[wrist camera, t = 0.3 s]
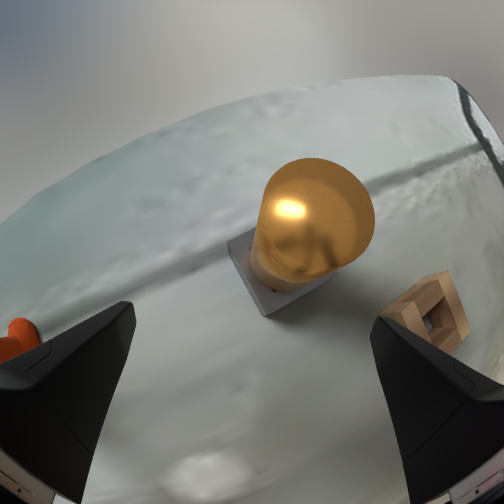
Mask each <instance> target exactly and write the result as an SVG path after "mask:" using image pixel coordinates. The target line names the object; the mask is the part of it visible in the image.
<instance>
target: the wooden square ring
mask: <svg viewBox="0 0 504 504" xmlns="http://www.w3.org/2000/svg"><path fill="white" fill-rule="evenodd" d="M426 313H427V315H428V318H429V320H430V322H431V325H432V327H433V328H432V329H431V330H430V331H429V332H427V330H426V327H425V325H424V322H423V320H422V317H423V316H424V315H425V314H426ZM378 315H379V316H387V317H389V318H391V319H393V320H394V321H396V322H397V323H399V324H401V325H402V326H404V327H406V328H407V329H409V330H410V331H412V332H414V333H415V334H417V335H418V336H420V337H422V338H423V339H425V340H427V341H428V342H430V343H431V344H433V345H434V346H436V347H438V348H439V349H441V350H442V351H444V352H446V353H447V354H449V355H450V354H451V353H452V352H453V351H454V350H455V349H456V348H457V347H458V346H459V344H460V343H461V342H462V341H463V340H464V339H465V337H466V336H467V335H468V334H469V333H470V331H471V329H470V326H469V323H468V320H467V317H466V315H465V312H464V309H463V306H462V304H461V301H460V299H459V296H458V294H457V291H456V289H455V286H454V284H453V282H452V279H451V277H450V275H449V272H448V270H447V271H444V272H440V273H437V274H433V275H430V276H426V277H423V278H422V279H421V280H420V281H419V282H418V283H416V284H415V285H414V286H413V287H412V288H410V289H409V290H408V291H407V292H405V293H404V294H403V295H402V296H401V297H399V298H398V299H397V300H396V301H394V302H393V303H392V304H390V305H389V306H388V307H387V308H385V309H384V310H383V311H381V312H380V313H379V314H378Z"/></svg>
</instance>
